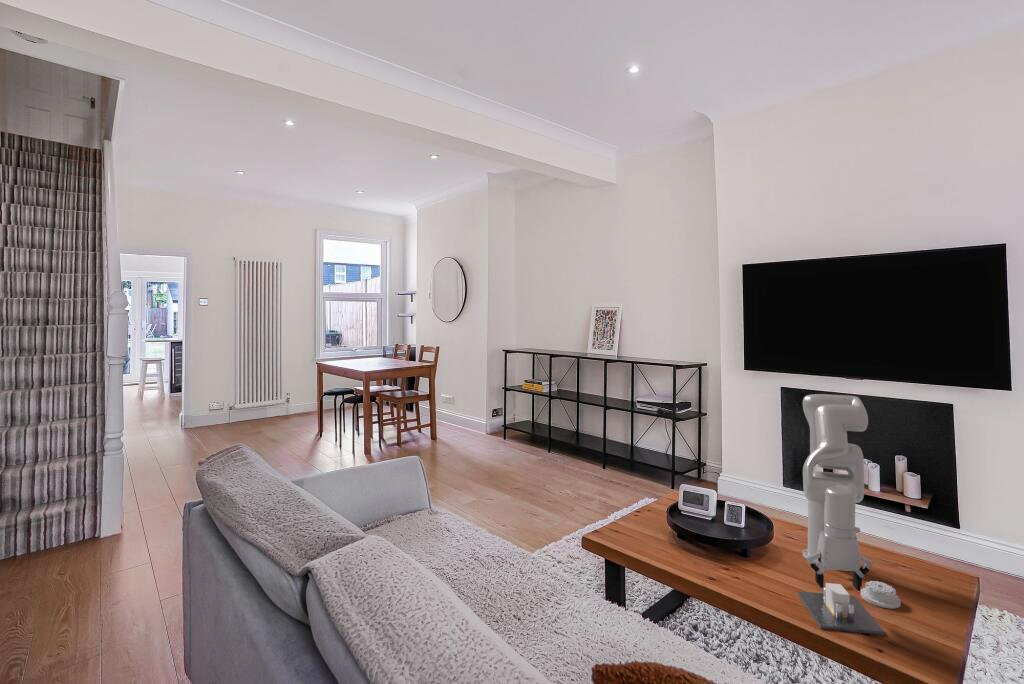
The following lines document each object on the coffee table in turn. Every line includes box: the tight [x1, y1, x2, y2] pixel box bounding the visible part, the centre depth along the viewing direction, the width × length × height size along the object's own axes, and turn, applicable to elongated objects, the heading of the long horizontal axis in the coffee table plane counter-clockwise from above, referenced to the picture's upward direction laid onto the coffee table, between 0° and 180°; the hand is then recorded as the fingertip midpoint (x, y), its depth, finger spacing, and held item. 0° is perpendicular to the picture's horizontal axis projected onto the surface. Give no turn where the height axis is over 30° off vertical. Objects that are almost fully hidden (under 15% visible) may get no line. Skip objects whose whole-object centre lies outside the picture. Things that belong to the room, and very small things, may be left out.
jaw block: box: [825, 582, 851, 615], centre depth 147 cm, size 6×4×6 cm, turn 168°
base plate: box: [797, 586, 886, 636], centre depth 147 cm, size 18×16×5 cm
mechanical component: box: [860, 580, 902, 610], centre depth 154 cm, size 10×4×10 cm
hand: (838, 586), depth 147 cm, fingers open, 9 cm apart
